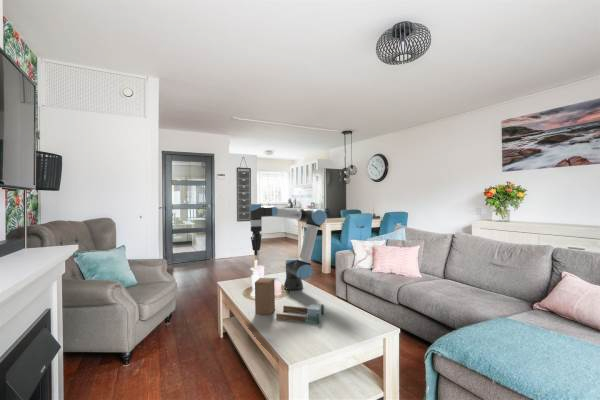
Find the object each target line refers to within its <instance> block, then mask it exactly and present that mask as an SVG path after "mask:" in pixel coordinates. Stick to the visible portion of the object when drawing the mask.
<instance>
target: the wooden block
mask: <svg viewBox="0 0 600 400" xmlns="http://www.w3.org/2000/svg"><path fill="white" fill-rule="evenodd" d="M275 290H276V289H275V278H273V277H271V278H270V277H269V278H268V277H259V278H258V279H257V280H256V281H255V282H254V306H255V307H254V309H255V311H254V313H255V315H268V316H269V315H272V313H273V312H274V311H275V309H276V308H275V307H276V305H275V304H276V300H275V299H276V297H275V294H276V292H275Z"/></svg>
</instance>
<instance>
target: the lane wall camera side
mask: <svg viewBox="0 0 600 400" xmlns="http://www.w3.org/2000/svg"><path fill="white" fill-rule="evenodd" d="M275 316H276V317H275V318H276V320H282V321H288V322H289V321H291V322H300V323H306V324H307V323H308V324H316V325H319V324H320V321H319V313H318V312H317V313H316V317H308V316H307V315H298V314H297V315H296V314H288V313H281V312H279V313H278V312H276V314H275Z"/></svg>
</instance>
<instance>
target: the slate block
mask: <svg viewBox="0 0 600 400" xmlns="http://www.w3.org/2000/svg"><path fill="white" fill-rule="evenodd" d="M306 308H307V313H306V316H308V317H316V313H317V312H318V313H319V322H320V320H321V319H322V315H321V304H313V303H312V304H311V303H310V304H309V305H308V306H307V307H306Z"/></svg>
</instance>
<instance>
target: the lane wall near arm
mask: <svg viewBox="0 0 600 400" xmlns="http://www.w3.org/2000/svg"><path fill="white" fill-rule="evenodd" d="M320 305H321V316H324V314H325V306H324V304H322V303H321V304H320ZM282 308H283V312H292V313H301V314H307V308H308V307H304V306H294V305H284V304H283V307H282Z"/></svg>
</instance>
